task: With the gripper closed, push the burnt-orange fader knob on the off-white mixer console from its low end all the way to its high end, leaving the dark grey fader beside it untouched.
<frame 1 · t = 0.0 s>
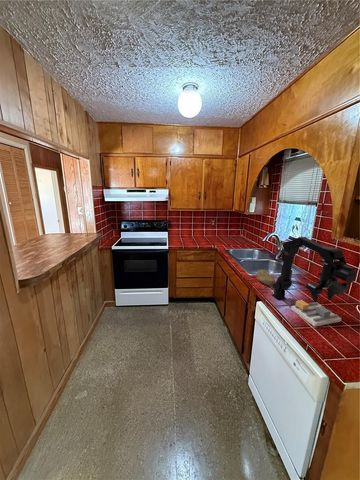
hand: (321, 301, 101), 15 cm above the counter, fingers open, 9 cm apart
sponge: (265, 281, 153), on the counter
console: (314, 314, 113), on the counter
fader grey: (322, 312, 108), point 4 cm above the counter, slide at 6.0 cm
fader orange: (301, 305, 114), point 4 cm above the counter, slide at 0.0 cm
supplement bottle: (286, 280, 156), on the counter
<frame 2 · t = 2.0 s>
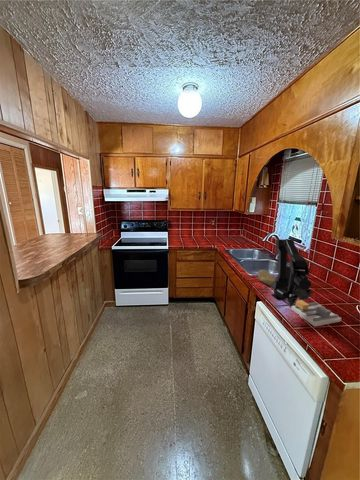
hand: (290, 305, 112), 6 cm above the counter, fingers closed
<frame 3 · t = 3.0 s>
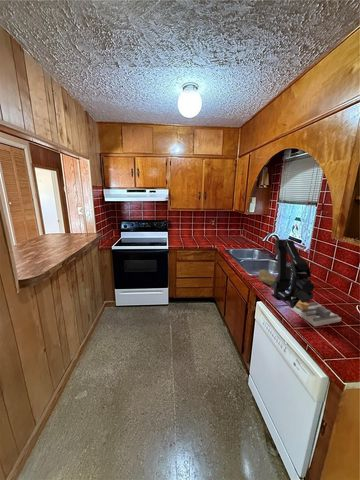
hand: (292, 307, 113), 4 cm above the counter, fingers closed
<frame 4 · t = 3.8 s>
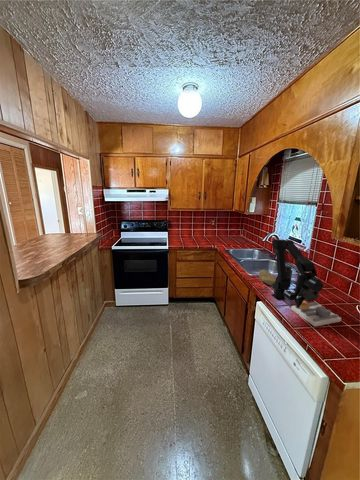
hand: (297, 306, 114), 4 cm above the counter, fingers closed
fader orange: (302, 305, 115), point 4 cm above the counter, slide at 0.7 cm, touching gripper
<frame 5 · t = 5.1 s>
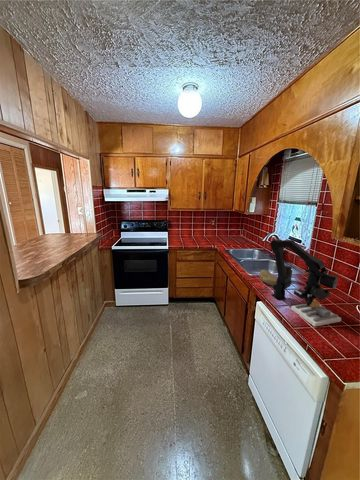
hand: (308, 305, 116), 4 cm above the counter, fingers closed
fader orange: (313, 303, 116), point 4 cm above the counter, slide at 8.1 cm, touching gripper
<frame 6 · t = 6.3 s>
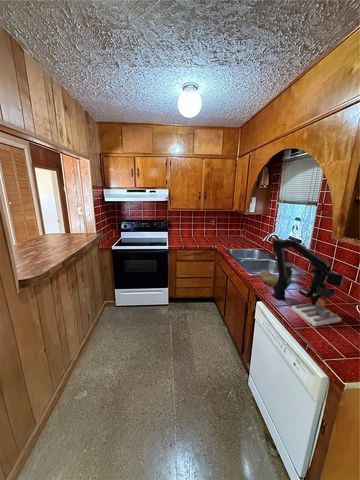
hand: (313, 304, 116), 4 cm above the counter, fingers closed
fader orange: (318, 303, 117), point 4 cm above the counter, slide at 11.9 cm, touching gripper
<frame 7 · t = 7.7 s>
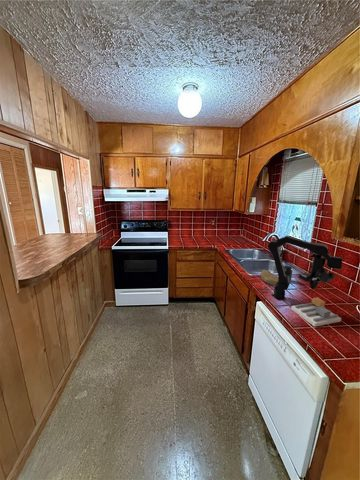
hand: (312, 289, 118), 12 cm above the counter, fingers closed
fader orange: (318, 303, 117), point 4 cm above the counter, slide at 12.0 cm
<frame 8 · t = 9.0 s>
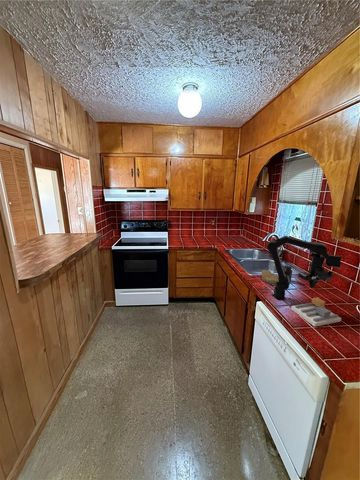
hand: (312, 287, 120), 12 cm above the counter, fingers closed
at the end: fader orange slide at 12.0 cm; fader grey slide at 6.0 cm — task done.
